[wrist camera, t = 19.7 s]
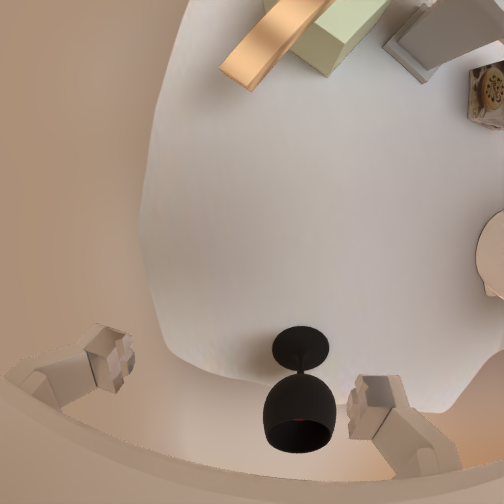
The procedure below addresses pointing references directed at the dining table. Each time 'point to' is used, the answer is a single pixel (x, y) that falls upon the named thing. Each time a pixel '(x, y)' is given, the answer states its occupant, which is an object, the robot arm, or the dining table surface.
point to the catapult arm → (271, 40)
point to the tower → (445, 33)
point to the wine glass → (299, 394)
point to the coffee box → (487, 96)
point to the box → (335, 31)
